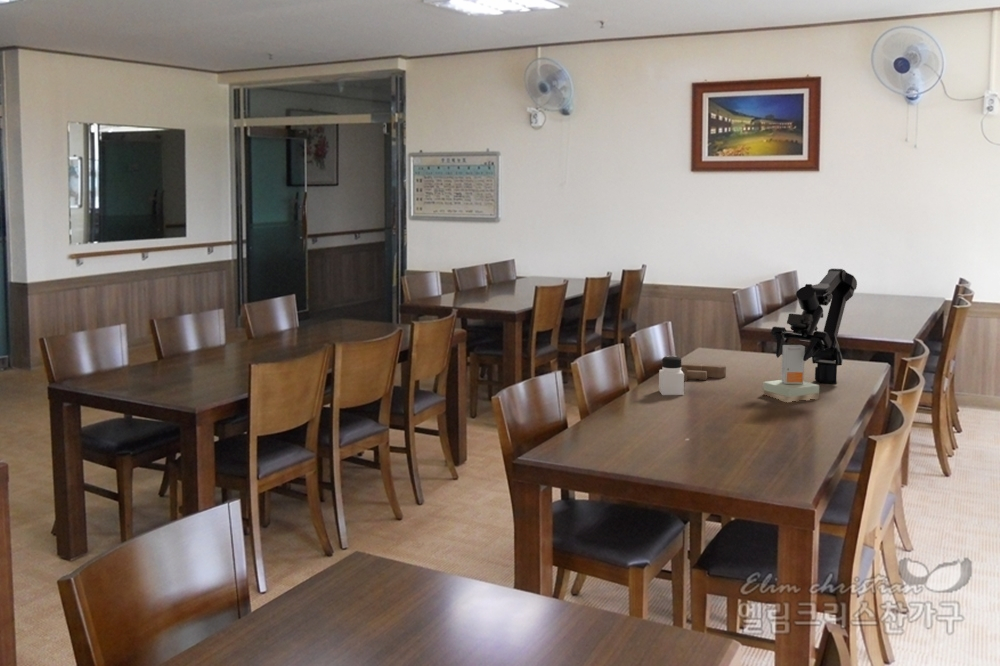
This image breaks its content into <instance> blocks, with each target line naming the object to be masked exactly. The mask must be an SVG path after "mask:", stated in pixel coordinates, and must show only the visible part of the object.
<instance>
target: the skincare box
mask: <svg viewBox="0 0 1000 666" xmlns="http://www.w3.org/2000/svg"><path fill="white" fill-rule="evenodd" d="M805 353H806V346H804V345H802V344H787V345H783V351H782V354H781V358H782V359H781V376H780V377H781V379H780V380H781V382H783V383H784V384H803V383H804V381H805V380H804V379H805V361H804V360H803V358H804V355H805Z"/></svg>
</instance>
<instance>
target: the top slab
mask: <svg viewBox="0 0 1000 666" xmlns="http://www.w3.org/2000/svg"><path fill="white" fill-rule="evenodd" d="M762 390H763V391H764V390H766V391H769V392H773V393H776V394H780V395H783V396H787V397H793V396H801V395H809V394H816V393H819V394H820V385H819V384H816V383H812V382H809V381H805V380H804V383H803V384H784V383H783V382H781V379H778V380H776V379H775V380H768V381H763V382H762Z"/></svg>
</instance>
